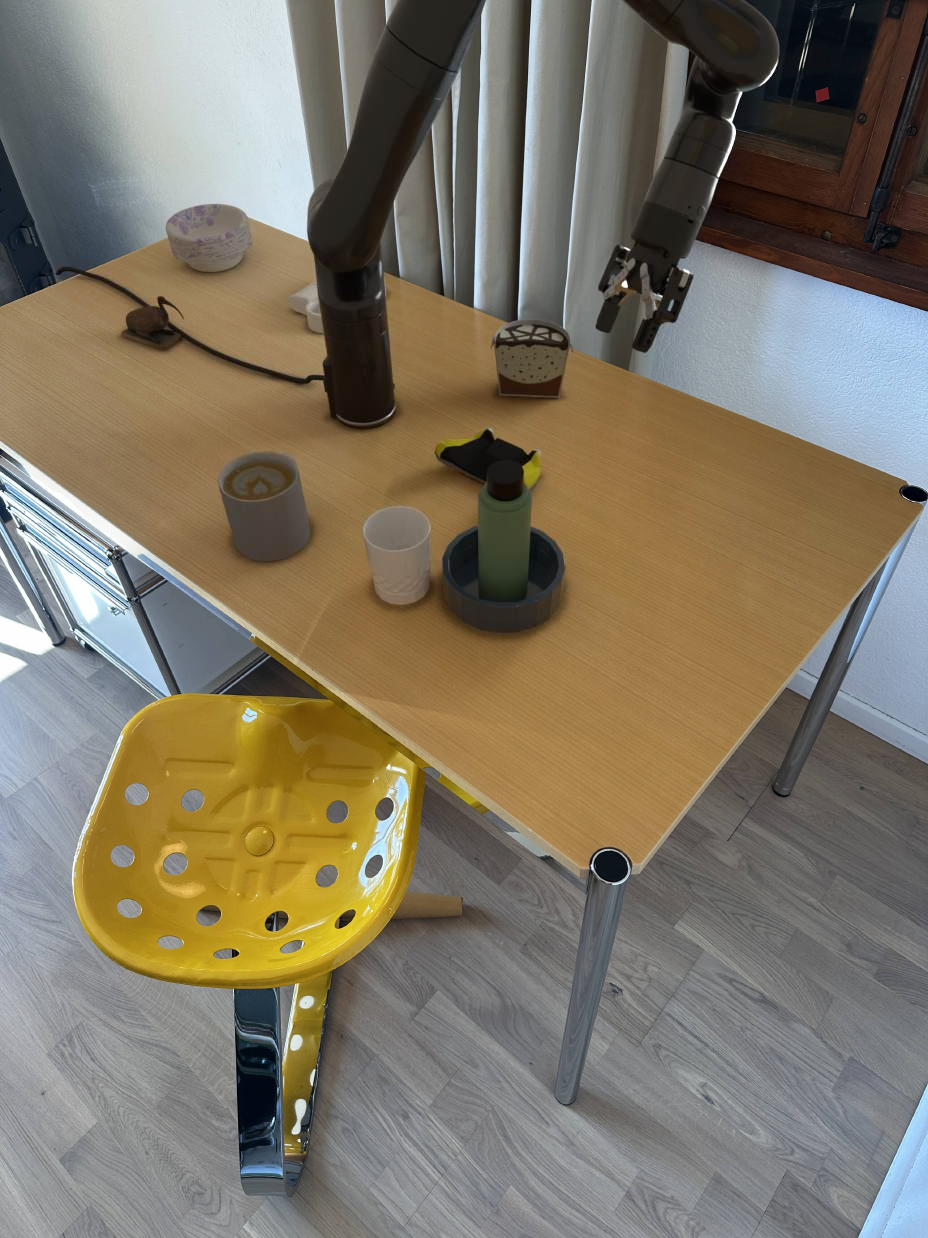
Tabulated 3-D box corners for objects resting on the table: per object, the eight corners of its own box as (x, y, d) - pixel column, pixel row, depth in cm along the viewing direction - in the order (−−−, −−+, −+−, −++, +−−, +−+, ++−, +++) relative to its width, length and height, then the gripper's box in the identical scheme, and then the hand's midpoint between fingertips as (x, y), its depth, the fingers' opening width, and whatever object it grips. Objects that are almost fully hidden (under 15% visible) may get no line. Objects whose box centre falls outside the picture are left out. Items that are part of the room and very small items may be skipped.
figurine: (201, 344, 148) (189, 296, 141) (183, 357, 145) (170, 308, 139) (140, 324, 152) (125, 277, 146) (121, 336, 150) (105, 288, 143)
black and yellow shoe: (515, 519, 117) (557, 480, 122) (516, 486, 112) (560, 448, 118) (429, 476, 123) (472, 441, 128) (427, 444, 119) (472, 410, 124)
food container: (569, 376, 139) (574, 318, 132) (569, 398, 135) (574, 339, 128) (492, 373, 140) (493, 315, 133) (489, 394, 136) (490, 336, 129)
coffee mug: (281, 571, 111) (266, 511, 103) (219, 546, 114) (200, 486, 106) (339, 509, 118) (329, 449, 111) (279, 488, 122) (266, 428, 114)
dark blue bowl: (429, 622, 104) (427, 593, 101) (461, 542, 114) (460, 513, 110) (548, 646, 102) (551, 617, 98) (571, 561, 111) (575, 532, 107)
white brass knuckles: (342, 276, 163) (404, 297, 157) (276, 317, 153) (340, 341, 148) (340, 258, 161) (403, 279, 155) (273, 299, 151) (338, 323, 145)
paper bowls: (220, 287, 161) (209, 244, 155) (159, 268, 166) (147, 227, 160) (272, 253, 170) (264, 212, 164) (212, 237, 175) (203, 196, 169)
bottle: (472, 600, 106) (471, 484, 92) (485, 567, 110) (485, 450, 96) (521, 609, 105) (526, 493, 91) (531, 575, 109) (538, 459, 95)
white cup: (370, 567, 111) (362, 507, 103) (432, 563, 111) (428, 503, 104) (371, 613, 105) (362, 553, 98) (436, 608, 106) (432, 548, 98)
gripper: (618, 189, 108) (568, 318, 115) (688, 209, 98) (629, 350, 104) (661, 208, 112) (611, 332, 119) (733, 229, 102) (674, 364, 108)
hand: (620, 340), depth 112 cm, fingers open, 8 cm apart
